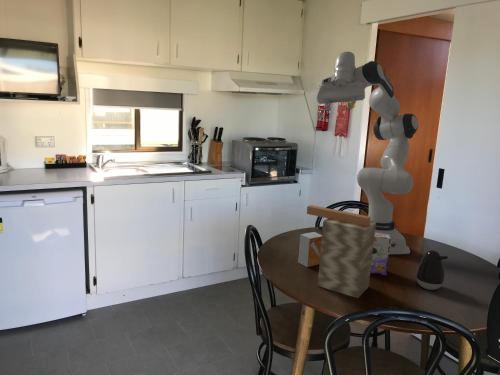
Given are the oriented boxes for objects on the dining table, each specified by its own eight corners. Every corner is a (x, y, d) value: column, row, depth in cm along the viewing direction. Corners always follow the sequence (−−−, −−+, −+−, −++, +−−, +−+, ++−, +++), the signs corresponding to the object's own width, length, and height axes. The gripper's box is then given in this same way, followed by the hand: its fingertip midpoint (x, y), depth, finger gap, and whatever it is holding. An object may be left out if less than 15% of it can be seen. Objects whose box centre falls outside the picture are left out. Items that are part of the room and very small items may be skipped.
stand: (317, 285, 162) (323, 221, 157) (330, 275, 172) (335, 214, 166) (358, 298, 154) (365, 230, 148) (368, 286, 164) (376, 222, 158)
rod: (306, 213, 165) (307, 206, 164) (310, 212, 168) (310, 205, 167) (366, 226, 152) (367, 218, 152) (369, 224, 155) (370, 216, 154)
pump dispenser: (437, 295, 159) (443, 257, 155) (410, 286, 165) (415, 249, 162) (447, 287, 166) (452, 251, 163) (420, 279, 173) (425, 243, 169)
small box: (307, 267, 179) (309, 238, 176) (297, 262, 184) (299, 234, 181) (321, 264, 183) (324, 235, 181) (311, 259, 189) (314, 231, 186)
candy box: (386, 270, 180) (391, 234, 176) (386, 276, 174) (391, 238, 171) (353, 265, 184) (357, 229, 180) (352, 270, 178) (356, 233, 175)
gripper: (368, 85, 181) (365, 111, 175) (321, 90, 190) (317, 115, 184) (365, 75, 176) (362, 101, 170) (317, 80, 184) (313, 106, 179)
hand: (338, 108), depth 177 cm, fingers open, 8 cm apart
